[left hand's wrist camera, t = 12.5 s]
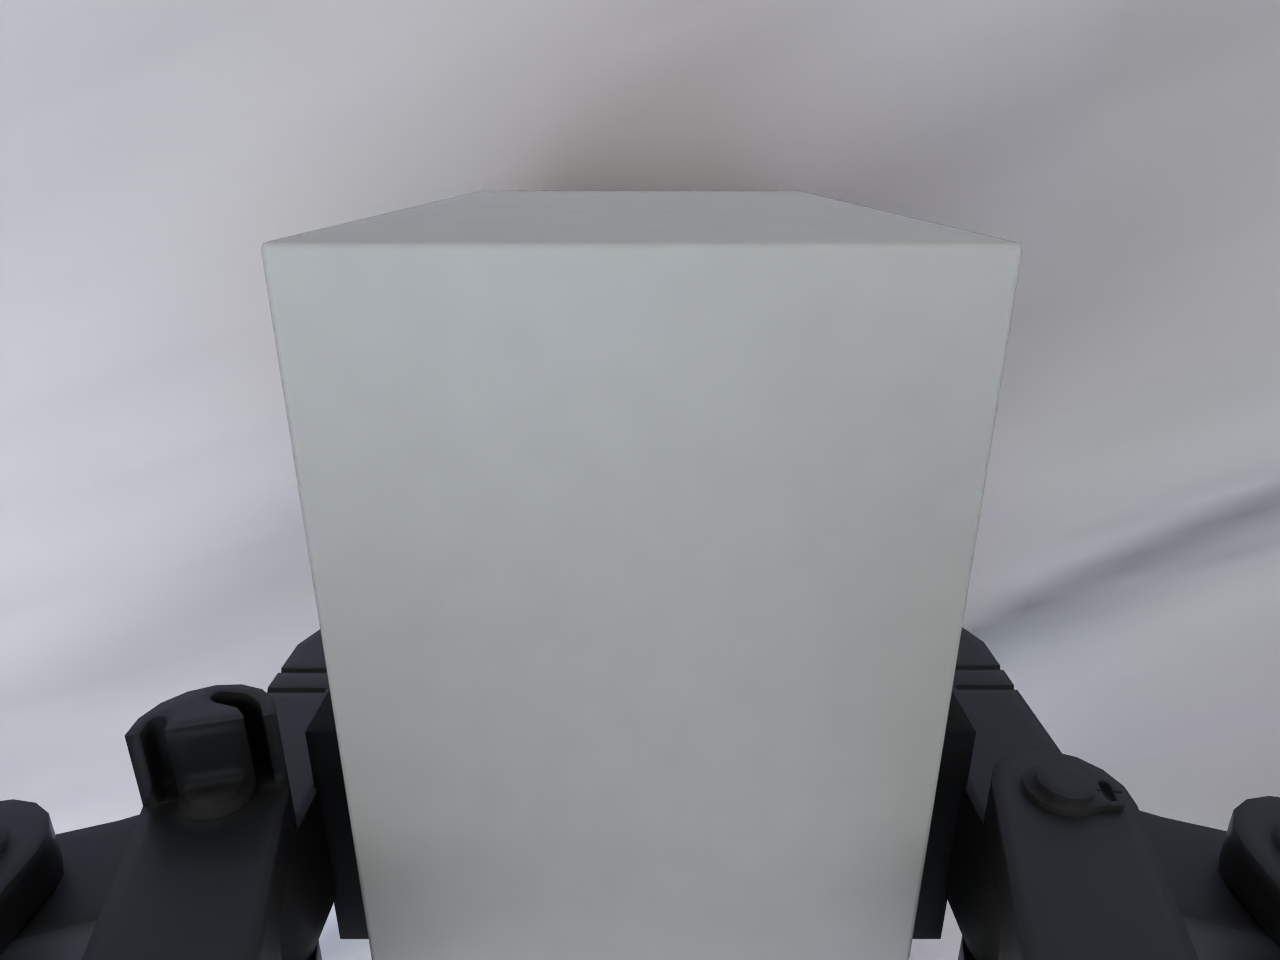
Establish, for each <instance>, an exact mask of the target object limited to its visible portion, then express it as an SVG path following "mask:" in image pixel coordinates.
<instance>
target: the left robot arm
mask: <svg viewBox="0 0 1280 960" xmlns="http://www.w3.org/2000/svg"><path fill="white" fill-rule="evenodd" d="M281 669H282V671H281V673H278V674H277V675H276V677H275V678H274V680H273V681H272V683H271V684H270V685H269V687H268V692H267V693H266V692H265V691H263V690H262V689H259V688H254V687H250V686H246V685H242V684H240V685H215V686H211V687H206V688H202V689H198V690H193V691H189V692H186V693H184V694H181V695H179V696H177V697H174V698H172V699H170V700H167V701H165V702H163V703H160V704H159V705H157V706H156V707H155V708H153V709H152V710H150V711H149V712H147V713H146V714H144V715H143V716H141V717H140V718H139V719H138V720H137V721H136V722H135V723H134V725H133V726H132V727H131V728H130V730H129V731H128V732H127V733H126V735H125V739H126V743H127V746H128V750H129V754H130V758H131V762H132V765H133V769H134V773H135V777H136V780H137V784H138V788H139V792H140V796H141V799H142V803H143V808H142V811H141V813H140V815H137V816H133V817H130V818H126V819H123V820H120V821H115V822H111V823H106V824H102V825H97V826H93V827H88V828H84V829H79V830H75V831H70V832H65V833H61V834H56V835H55V832H54V829H53V826H52V823H51V819H50V816H49V813H48V812H46V811H45V810H44V809H43V808H41V807H40V806H39V805H38V804H37V803H33V802H27V801H20V800H5V801H0V960H322V957H321V951H320V946H319V940H318V939H319V937H320V935H321V932H322V930H323V927H324V925H325V922H326V920H327V917H328V915H329V913H330V910H331V908H332V905H333V903H334V904H335V910H336V916H337V922H338V928H339V934H340V939H369V937H368V930H367V924H366V917H365V911H364V905H363V898H362V892H361V885H360V879H359V873H358V866H357V860H356V853H355V847H354V841H353V834H352V828H351V821H350V815H349V809H348V802H347V796H346V789H345V783H344V776H343V770H342V764H341V757H340V751H339V744H338V738H337V732H336V725H335V719H334V712H333V706H332V700H331V693H330V687H329V680H328V674H327V668H326V661H325V655H324V648H323V642H322V636H321V629H320V630H319V631H317V632H316V633H314V634H313V635H311V636H310V637H308V638H307V639H306V640H304V641H303V642H301V643H300V644H298V645H297V647H296V648H295V650H294V651H293V653H292V654H291V655H290V657H289V658H288V660H287V661H286V663H285V664H284V665H283V667H282V668H281ZM947 899H948V901H949V904H950V906H951V909H952V911H953V913H954V916H955V918H956V921H957V923H958V926H959V928H960V930H961V933H962V940H961V946H960V951H959V957H958V960H1280V797H1273V796H1266V797H1260V798H1253V799H1246V800H1245V801H1244V802H1243V803H1242V804H1240V805H1239V806H1238V807H1237V808H1235V809H1234V811H1233V814H1232V817H1231V820H1230V823H1229V826H1228V830H1227V831H1222V830H1218V829H1213V828H1209V827H1204V826H1200V825H1195V824H1191V823H1186V822H1181V821H1177V820H1172V819H1168V818H1163V817H1160V816H1156V815H1153V814H1149V813H1146V812H1142V811H1139V809H1138V807H1137V805H1136V803H1135V802H1134V800H1133V799H1132V797H1131V796H1130V794H1129V793H1128V791H1127V790H1126V789H1125V787H1124V786H1123V785H1121V784H1120V783H1119V782H1118V781H1116V780H1115V779H1114V778H1113V777H1111V776H1110V775H1109V774H1107V773H1106V772H1105V771H1104V770H1102V769H1100V768H1098V767H1096V766H1094V765H1092V764H1090V763H1087V762H1085V761H1083V760H1081V759H1079V758H1077V757H1073V756H1069V755H1065V754H1062V753H1061V751H1060V750H1059V748H1058V747H1057V746H1056V744H1055V743H1054V741H1053V740H1052V739H1051V737H1050V736H1049V734H1048V733H1047V731H1046V730H1045V729H1044V727H1043V726H1042V724H1041V723H1040V722H1039V720H1038V719H1037V717H1036V716H1035V714H1034V713H1033V712H1032V710H1031V709H1030V707H1029V706H1028V704H1027V703H1026V702H1025V700H1024V699H1023V697H1022V696H1021V695H1020V693H1019V692H1018V690H1014V685H1013V683H1012V682H1011V680H1010V679H1009V678H1008V676H1007V675H1006V673H1005V672H1004V670H1000V665H999V663H998V662H997V661H996V659H995V658H994V656H993V655H992V653H991V652H990V651H989V649H988V648H987V646H986V645H985V643H984V642H983V641H981V640H980V639H978V638H977V637H975V636H974V635H972V634H971V633H970V632H968V631H967V630H965V629H964V628H962V630H961V636H960V642H959V648H958V655H957V661H956V667H955V674H954V680H953V686H952V692H951V699H950V705H949V711H948V718H947V724H946V730H945V736H944V743H943V749H942V755H941V762H940V768H939V774H938V780H937V787H936V793H935V799H934V805H933V812H932V818H931V824H930V831H929V837H928V843H927V849H926V856H925V862H924V868H923V875H922V881H921V887H920V893H919V900H918V906H917V912H916V919H915V925H914V931H913V937H912V939H941V933H942V927H943V921H944V916H945V910H946V904H947Z"/></svg>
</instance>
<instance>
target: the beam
mask: <svg viewBox="0 0 1280 960" xmlns="http://www.w3.org/2000/svg"><path fill="white" fill-rule="evenodd" d="M261 251H262V258H263V264H264V270H265V277H266V283H267V290H268V296H269V302H270V309H271V315H272V322H273V328H274V334H275V341H276V347H277V354H278V360H279V366H280V373H281V379H282V386H283V392H284V399H285V405H286V411H287V418H288V424H289V431H290V437H291V443H292V450H293V456H294V463H295V469H296V475H297V482H298V488H299V495H300V501H301V507H302V514H303V520H304V527H305V533H306V539H307V546H308V552H309V559H310V565H311V571H312V578H313V584H314V591H315V597H316V603H317V610H318V616H319V623H320V629H321V636H322V642H323V648H324V655H325V661H326V668H327V674H328V680H329V687H330V693H331V700H332V706H333V712H334V719H335V725H336V732H337V738H338V744H339V751H340V757H341V764H342V770H343V776H344V783H345V789H346V796H347V802H348V809H349V815H350V821H351V828H352V834H353V841H354V847H355V853H356V860H357V866H358V873H359V879H360V885H361V892H362V898H363V905H364V911H365V917H366V924H367V930H368V937H369V943H370V949H371V956H372V960H909V956H910V950H911V944H912V937H913V931H914V925H915V919H916V912H917V906H918V900H919V893H920V887H921V881H922V875H923V868H924V862H925V856H926V849H927V843H928V837H929V831H930V824H931V818H932V812H933V805H934V799H935V793H936V787H937V780H938V774H939V768H940V762H941V755H942V749H943V743H944V736H945V730H946V724H947V718H948V711H949V705H950V699H951V692H952V686H953V680H954V674H955V667H956V661H957V655H958V648H959V642H960V636H961V630H962V623H963V617H964V611H965V605H966V598H967V592H968V586H969V579H970V573H971V567H972V561H973V554H974V548H975V542H976V535H977V529H978V523H979V517H980V510H981V504H982V498H983V492H984V485H985V479H986V473H987V466H988V460H989V454H990V448H991V441H992V435H993V429H994V422H995V416H996V410H997V404H998V397H999V391H1000V385H1001V378H1002V372H1003V366H1004V360H1005V353H1006V347H1007V341H1008V335H1009V328H1010V322H1011V316H1012V309H1013V303H1014V297H1015V291H1016V284H1017V278H1018V272H1019V265H1020V259H1021V253H1022V250H1021V245H1020V244H1017V243H1015V242H1012V241H1008V240H1003V239H999V238H995V237H991V236H987V235H982V234H978V233H974V232H970V231H965V230H961V229H957V228H953V227H949V226H944V225H940V224H936V223H932V222H928V221H923V220H919V219H915V218H911V217H906V216H902V215H898V214H894V213H890V212H885V211H881V210H877V209H873V208H868V207H864V206H860V205H856V204H852V203H847V202H843V201H839V200H835V199H831V198H826V197H822V196H818V195H814V194H809V193H805V192H801V191H479V192H475V193H471V194H467V195H462V196H458V197H454V198H450V199H445V200H441V201H437V202H433V203H429V204H424V205H420V206H416V207H412V208H407V209H403V210H399V211H395V212H391V213H386V214H382V215H378V216H374V217H369V218H365V219H361V220H357V221H353V222H348V223H344V224H340V225H336V226H332V227H327V228H323V229H319V230H315V231H310V232H306V233H302V234H298V235H294V236H289V237H285V238H281V239H277V240H272V241H268V242H266V243H264V244H263V245H262V250H261Z"/></svg>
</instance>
